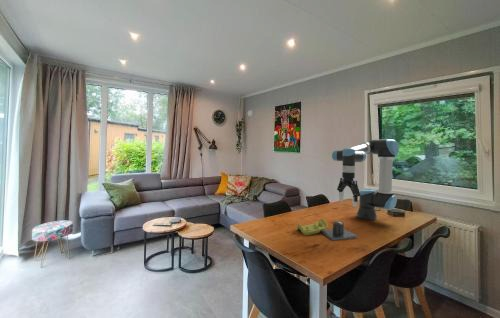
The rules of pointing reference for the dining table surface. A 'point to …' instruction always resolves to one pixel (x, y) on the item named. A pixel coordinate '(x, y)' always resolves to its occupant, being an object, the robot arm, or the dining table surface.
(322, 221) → the plastic component
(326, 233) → the hub plate
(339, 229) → the knob
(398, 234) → the dining table surface
